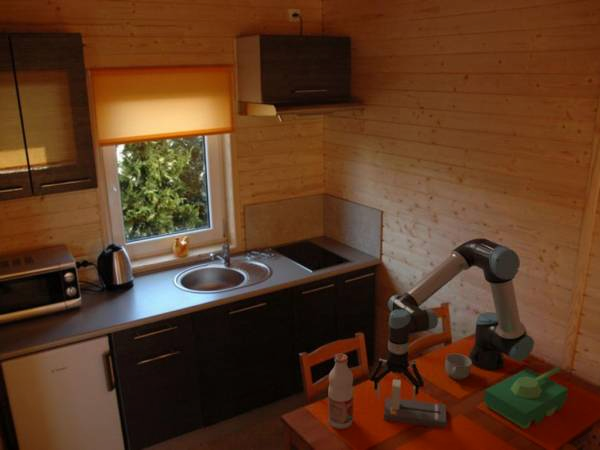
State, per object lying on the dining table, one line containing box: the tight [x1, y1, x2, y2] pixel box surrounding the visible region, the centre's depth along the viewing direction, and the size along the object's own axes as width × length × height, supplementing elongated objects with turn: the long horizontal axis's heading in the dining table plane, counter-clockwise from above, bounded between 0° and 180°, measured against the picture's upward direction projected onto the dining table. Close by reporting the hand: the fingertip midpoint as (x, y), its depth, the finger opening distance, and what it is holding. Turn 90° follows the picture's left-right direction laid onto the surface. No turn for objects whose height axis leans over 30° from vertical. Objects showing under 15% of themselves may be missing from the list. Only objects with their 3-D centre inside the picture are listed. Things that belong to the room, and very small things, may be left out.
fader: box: [391, 379, 402, 410], centre depth 208 cm, size 3×5×10 cm, turn 167°
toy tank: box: [483, 365, 569, 430], centre depth 212 cm, size 18×12×35 cm
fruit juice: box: [327, 353, 354, 430], centre depth 201 cm, size 9×9×28 cm
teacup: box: [444, 352, 473, 380], centre depth 231 cm, size 14×11×8 cm
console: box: [383, 396, 447, 429], centre depth 208 cm, size 23×11×3 cm, turn 77°
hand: (395, 398), depth 208 cm, fingers open, 13 cm apart
